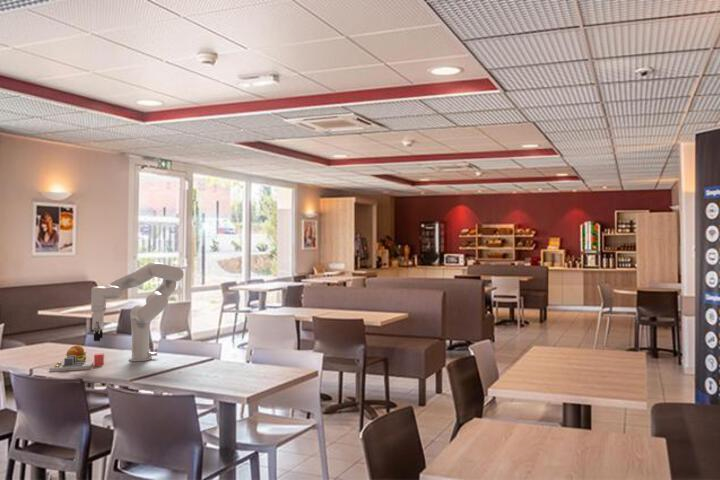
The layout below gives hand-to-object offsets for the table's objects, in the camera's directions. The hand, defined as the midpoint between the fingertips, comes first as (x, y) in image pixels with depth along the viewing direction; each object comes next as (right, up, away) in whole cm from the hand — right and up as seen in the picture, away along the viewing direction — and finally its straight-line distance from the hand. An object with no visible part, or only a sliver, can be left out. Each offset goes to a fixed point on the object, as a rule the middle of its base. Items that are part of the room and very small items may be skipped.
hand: (98, 339), depth 340 cm
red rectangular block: (0, -14, 0) cm, 14 cm away
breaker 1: (-11, -12, -11) cm, 20 cm away
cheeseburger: (-17, -15, +11) cm, 25 cm away
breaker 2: (-12, -12, -5) cm, 18 cm away
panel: (-11, -14, -8) cm, 20 cm away
